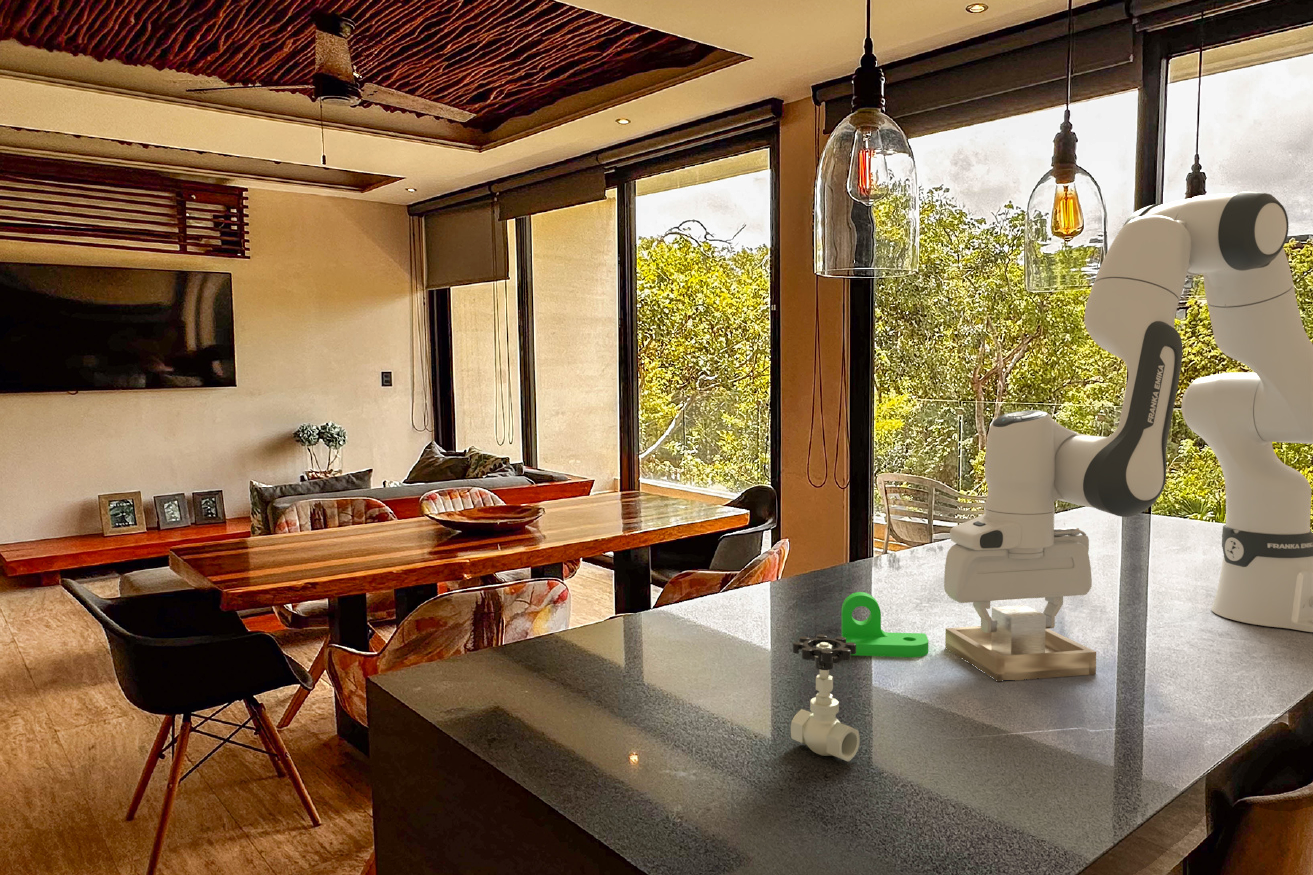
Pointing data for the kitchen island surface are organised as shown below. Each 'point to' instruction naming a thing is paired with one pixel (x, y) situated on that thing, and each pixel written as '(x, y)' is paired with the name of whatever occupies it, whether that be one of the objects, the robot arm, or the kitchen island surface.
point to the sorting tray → (1021, 656)
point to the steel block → (1018, 631)
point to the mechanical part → (877, 632)
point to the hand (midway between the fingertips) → (1017, 629)
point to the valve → (825, 701)
